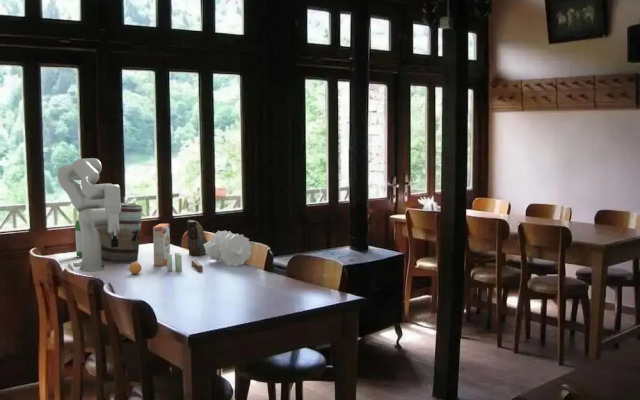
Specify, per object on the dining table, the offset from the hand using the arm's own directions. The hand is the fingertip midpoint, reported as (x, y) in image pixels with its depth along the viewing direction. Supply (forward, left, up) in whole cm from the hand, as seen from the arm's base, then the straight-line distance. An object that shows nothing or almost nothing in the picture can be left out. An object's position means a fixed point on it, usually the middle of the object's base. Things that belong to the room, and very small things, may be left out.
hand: (114, 246), depth 339 cm
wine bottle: (-12, +62, -15) cm, 65 cm away
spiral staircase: (+58, +5, -15) cm, 60 cm away
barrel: (+4, +39, -13) cm, 42 cm away
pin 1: (+31, +3, -15) cm, 34 cm away
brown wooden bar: (+40, 0, -15) cm, 43 cm away
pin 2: (+31, -2, -15) cm, 34 cm away
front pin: (+26, 0, -15) cm, 30 cm away
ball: (+9, 0, -12) cm, 15 cm away
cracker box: (+26, +22, -15) cm, 37 cm away
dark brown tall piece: (+50, +40, -15) cm, 66 cm away
